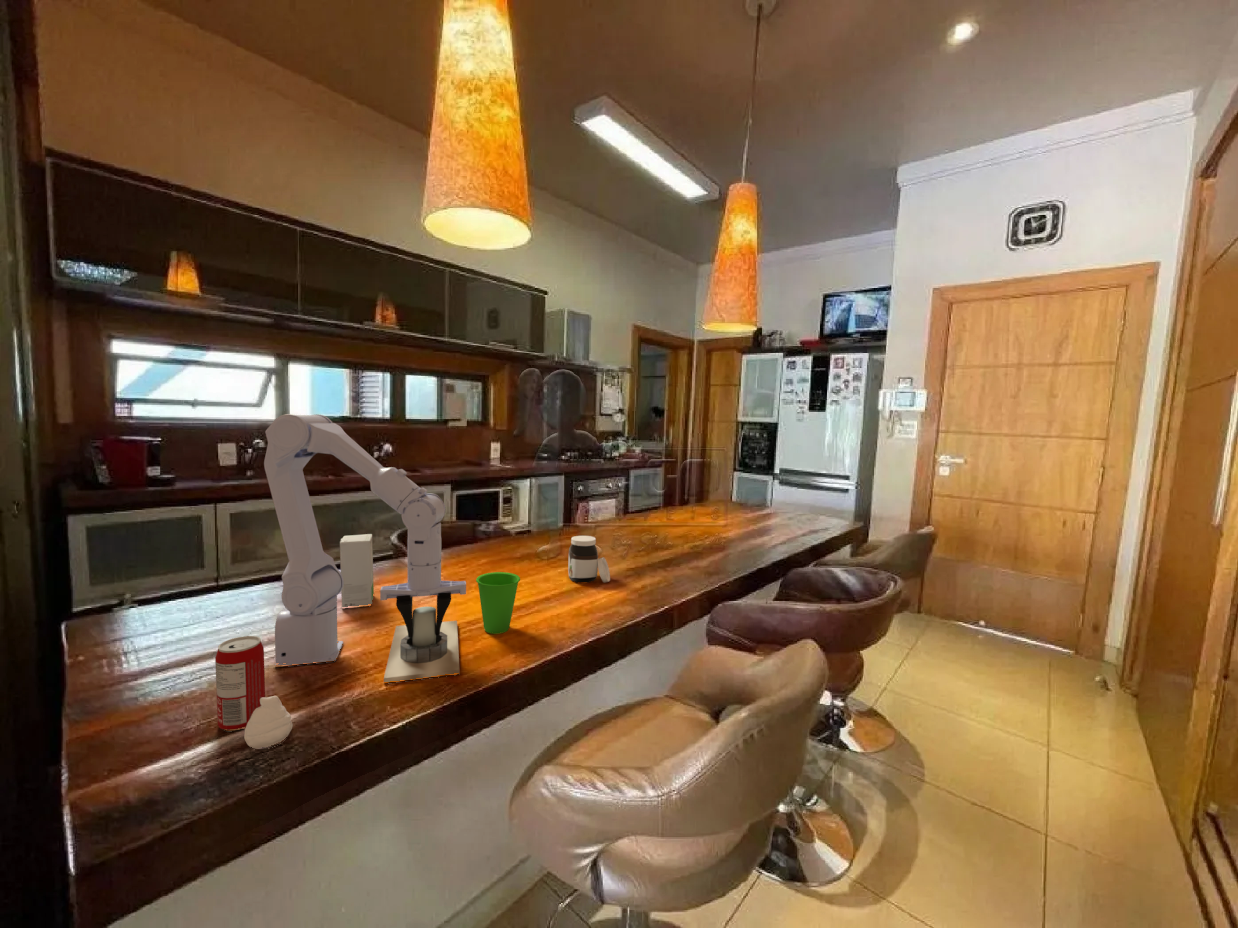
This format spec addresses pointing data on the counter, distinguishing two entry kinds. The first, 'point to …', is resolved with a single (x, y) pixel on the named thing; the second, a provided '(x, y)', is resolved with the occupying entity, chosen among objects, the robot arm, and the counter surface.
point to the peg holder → (423, 655)
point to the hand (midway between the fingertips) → (424, 634)
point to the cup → (497, 600)
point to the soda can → (239, 680)
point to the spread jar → (586, 561)
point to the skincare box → (357, 570)
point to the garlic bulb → (268, 724)
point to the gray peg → (424, 626)
